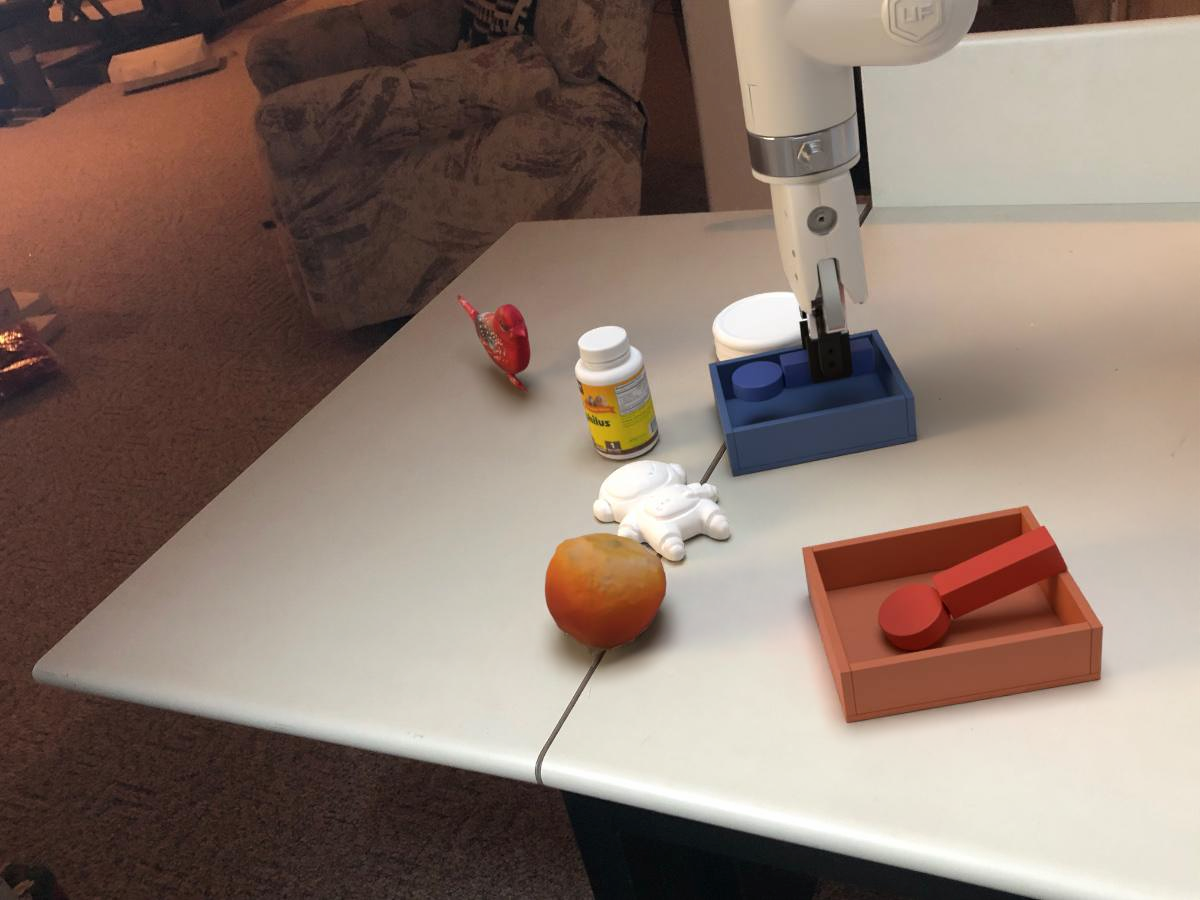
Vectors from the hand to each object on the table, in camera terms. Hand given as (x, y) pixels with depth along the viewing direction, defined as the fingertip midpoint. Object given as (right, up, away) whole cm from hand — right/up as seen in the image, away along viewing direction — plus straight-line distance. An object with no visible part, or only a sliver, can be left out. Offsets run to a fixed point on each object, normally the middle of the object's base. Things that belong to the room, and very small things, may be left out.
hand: (828, 369), depth 85 cm
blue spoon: (-2, -1, 0) cm, 2 cm away
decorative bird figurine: (-27, +1, +20) cm, 34 cm away
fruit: (-17, -18, -13) cm, 28 cm away
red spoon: (+4, -15, -21) cm, 26 cm away
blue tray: (-1, -4, +2) cm, 5 cm away
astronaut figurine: (-13, -12, -4) cm, 18 cm away
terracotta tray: (+3, -17, -20) cm, 26 cm away
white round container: (-2, +3, +14) cm, 14 cm away
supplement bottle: (-16, -6, +6) cm, 18 cm away
